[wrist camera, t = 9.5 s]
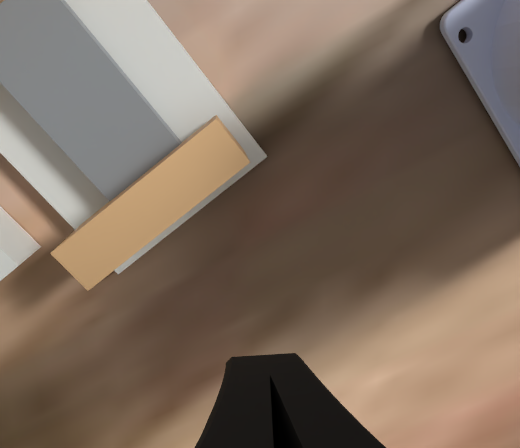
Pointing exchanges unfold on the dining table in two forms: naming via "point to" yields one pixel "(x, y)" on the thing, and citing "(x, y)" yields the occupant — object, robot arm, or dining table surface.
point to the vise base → (152, 88)
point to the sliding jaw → (107, 136)
